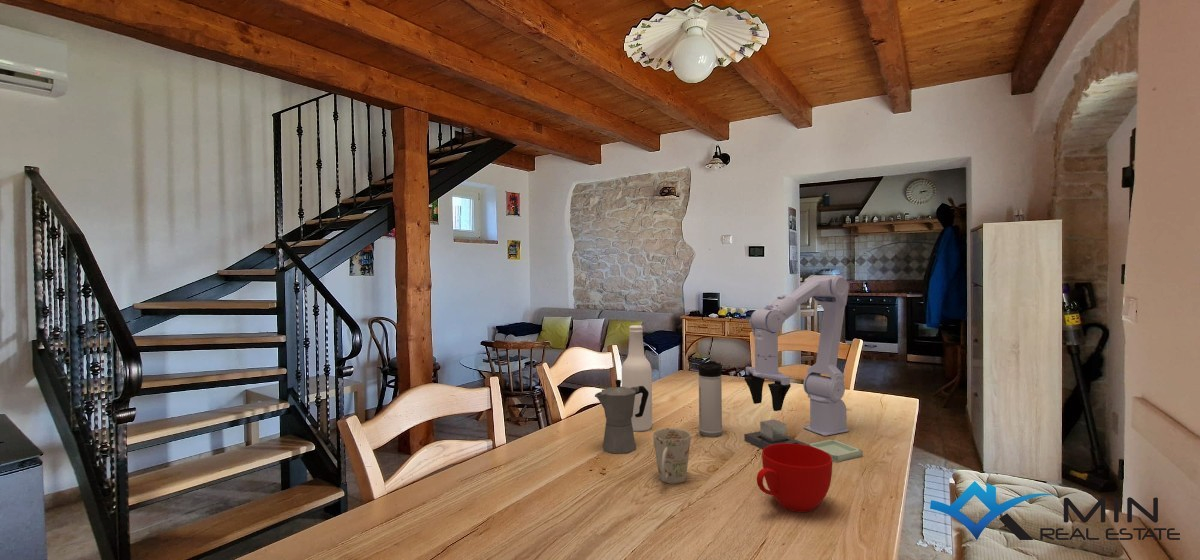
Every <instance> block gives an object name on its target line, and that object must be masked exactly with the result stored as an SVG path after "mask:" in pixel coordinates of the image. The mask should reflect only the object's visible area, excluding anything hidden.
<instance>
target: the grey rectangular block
mask: <svg viewBox="0 0 1200 560" xmlns="http://www.w3.org/2000/svg"><path fill="white" fill-rule="evenodd" d="M759 428H760V430H759V431H760V432H761V439H763V440H765V441H767V442H769V443H772V444H773V443H779V442H784V441H786V436H787V424H786V423H784V422H783V421H779V420H776V419H767V420H764V421H763V420H762V421H760V427H759Z"/></svg>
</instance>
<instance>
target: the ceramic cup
mask: <svg viewBox="0 0 1200 560" xmlns="http://www.w3.org/2000/svg"><path fill="white" fill-rule="evenodd" d="M761 460H762V468H761V469H760V470H759V471H758V472H757V475H756V484H757V486H758V489H760V490H761V491H762V492H763V493H765V494H766V495H770V496H773V497H774V498H775V500H776V501H777V502H778V503H779V505H780V506H781V507H783V508H784V509H786V510H789V511H792V512H797V513H808V512H811V511H813V510H815V508H816V507H817V506H818V505H820V504H821V502H823V500H824V499H825V498H826V496H827V494H828V491H829V490H830V486H831V482H832V476H833V475H832V474H833V461H832V457H831V456H830V455H829V454H828V453H827V452H825V451H823V450H821V449H818V448H815V447H811V446H807V445H801V444H792V443H781V444H773V445H769V446H767V447H765V448H764V449H762V451H761ZM764 479H765V482H766V485H767V487H768V489H767V488H766V487H765V485H764Z"/></svg>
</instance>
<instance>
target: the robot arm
mask: <svg viewBox="0 0 1200 560" xmlns="http://www.w3.org/2000/svg"><path fill="white" fill-rule="evenodd" d="M849 289H850V285H849V283H848V281H847V280H846V278H845V277H844V275H841V274H836V275H818V274H817V275H816V274H812V275H809V276H808V277H807V278H805V279H804V281H803V283H802V284H801V285H800V286H799V287H798V288H797V289H795V290H794V291H793V292H791V294H790V295H788V294H779V295H777V297H776V299H775V300H773V301H772V302H771V303H767V304H766V305H765V306H764V308H757V309H756V310H754V311H753V312H752V313H751V316H750V319H749V320H748V322H749V326H750V328H751V329H752V335H753V337H754V361H755V362H754V364H755V365H754V366H746V367H745V375H747V376H744V381H745V383H746V384H747V387H748V389H749V391H750V395H751V399H752V402H753V404H755V405H758V404H762V402H763V401H762V400H763V389H764V383H765V380H767V381H771V382H773V383H768V384H767V386H768V388H769V389H768V390H769V391H770V394H771V404H772V410H773V411H774V412H779V411H782V409H783V405H784V402H785V398H786V395H787V394H788V391H789V390H790V388H791V381H790V380H791V378H790V376H788V375H785V374H784V373H782V372H780V371H779V339H778V337H779V336H778V335H779V332H780V331H781V329H782V328H783V324H784V323H785V321H787V320H788V319H790V318H791V317H792V316H793V315H794V314H796V313H797V312H798V308H799V307H798V306H800V305H801V304H803V303H805V302H806V301H809V300H810V299H813V300H814V302H816V303H817V304H818V305H820V306H821V307H822V309H823V313H822V321H821V327H820V335H819V339H818V348H817V353H816V361H815V363H814V364H812V365H811V366H809V367H808V368H807V373H806V374H805V377H804V379H803V383H802V385H803V386H802V387H803V390H804V392H805V393H806V394H807V398H808V399H809V425H804V426H803V427H802V428H803V429H806V430H808V431H811V432H813V433H816V434H818V435H821V436H824V437H826V436H831V435H835V434H841V433H846V432H849V431H850V429H849V428H847V405H846V403H845V401H844V400H842V398H843V397H844V395H845V392H846V391H845V390H846V387H845V386H846V385H845V375H844V374H843V372H842V371H841V370H840V369H839V368H838V367H837V364H838V357H839V348H840V344H841V337H842V336H841V335H842V330H843V323H844V316H845V308H846V306H847V302H848V294H849Z"/></svg>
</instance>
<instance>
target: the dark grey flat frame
mask: <svg viewBox="0 0 1200 560" xmlns="http://www.w3.org/2000/svg"><path fill="white" fill-rule="evenodd" d="M743 437H744V439H743V440H744V442H746V443H749V444H750V445H752V446H755V447H756V448H759V449H761V450H763V449H764V448H765V447H767V446H769V445H773V444H781V443H792V444H801V445H807V446H810V445H808V444H809V443H806V442H805V443H804V442H802V441H799V440H798V439H795V438H792V437H790V436H789V435H786V441H784V442H779V443H773V444H772V443H769V442H767V441H765V440H763V439H761V432H760V430H759V431H755V432H749V433H748V432H747V433H744V435H743ZM811 447H812V446H811ZM828 454H829V453H828Z"/></svg>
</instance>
